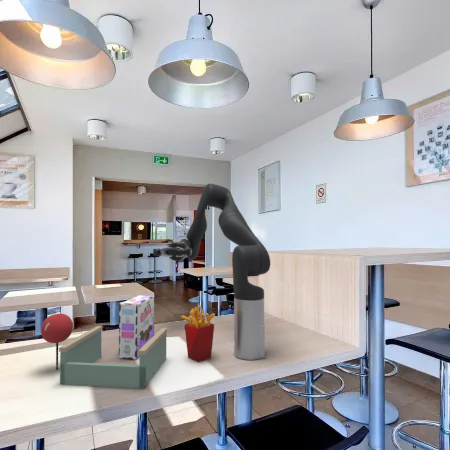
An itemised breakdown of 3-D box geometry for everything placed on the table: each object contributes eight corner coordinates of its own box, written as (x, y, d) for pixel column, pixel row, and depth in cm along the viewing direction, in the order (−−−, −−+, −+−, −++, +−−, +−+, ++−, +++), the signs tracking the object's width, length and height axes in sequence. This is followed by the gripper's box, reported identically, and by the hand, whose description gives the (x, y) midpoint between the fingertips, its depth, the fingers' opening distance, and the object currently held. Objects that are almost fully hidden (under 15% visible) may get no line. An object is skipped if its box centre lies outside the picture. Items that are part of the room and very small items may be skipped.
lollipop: (42, 366, 88) (43, 312, 88) (72, 361, 91) (73, 309, 91) (38, 377, 81) (39, 318, 81) (71, 372, 84) (72, 315, 84)
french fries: (215, 357, 93) (215, 307, 94) (193, 365, 88) (193, 311, 88) (196, 350, 100) (196, 302, 100) (175, 357, 94) (175, 306, 94)
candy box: (136, 360, 92) (136, 303, 92) (117, 359, 93) (118, 303, 93) (154, 344, 105) (155, 294, 106) (138, 343, 106) (138, 294, 107)
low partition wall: (167, 358, 93) (167, 328, 93) (144, 389, 74) (144, 350, 75) (97, 355, 95) (97, 325, 95) (58, 384, 77) (59, 347, 77)
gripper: (162, 241, 131) (148, 242, 115) (195, 241, 130) (186, 242, 113) (162, 259, 131) (148, 263, 115) (195, 260, 129) (186, 263, 113)
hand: (167, 253), depth 114 cm, fingers open, 8 cm apart
